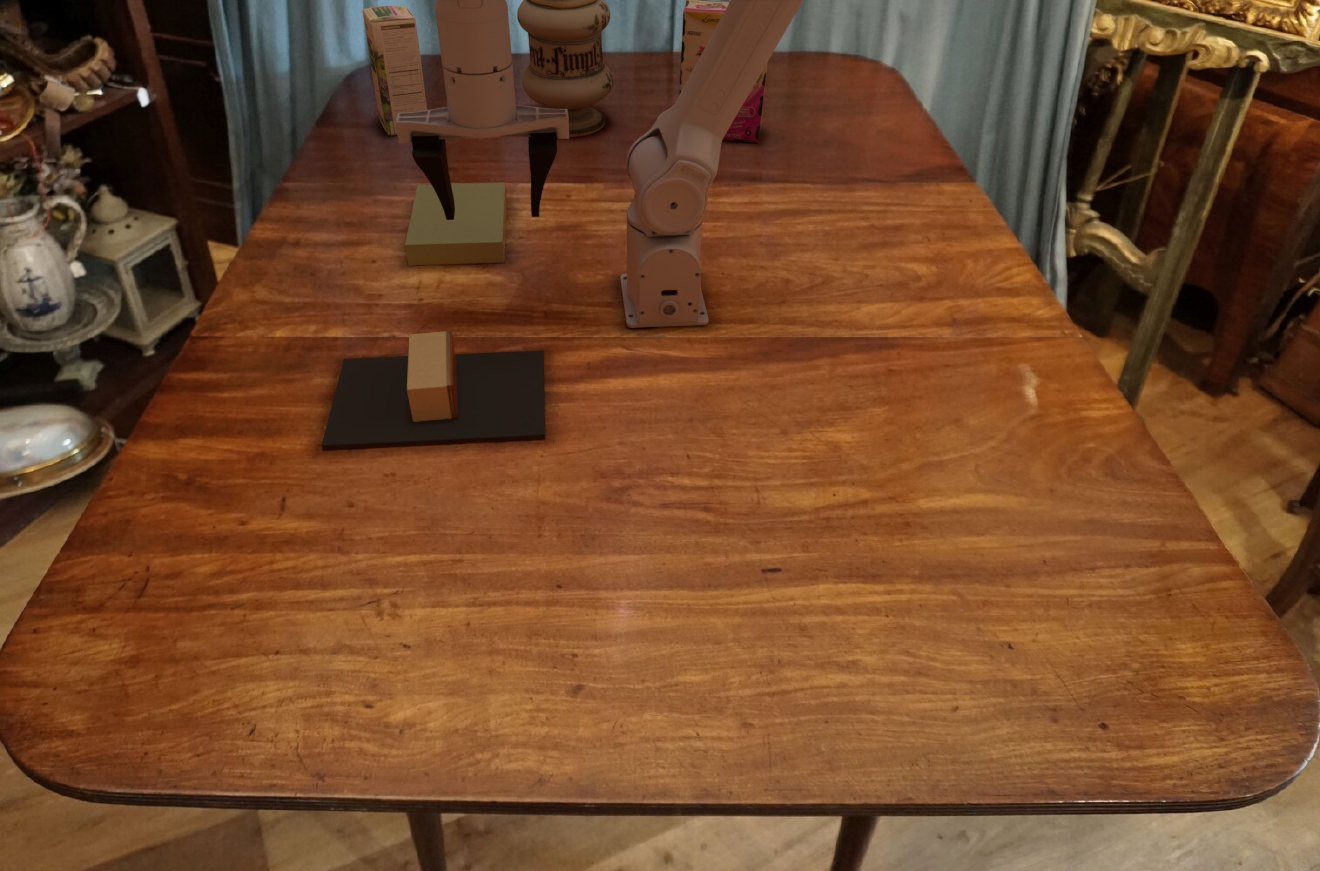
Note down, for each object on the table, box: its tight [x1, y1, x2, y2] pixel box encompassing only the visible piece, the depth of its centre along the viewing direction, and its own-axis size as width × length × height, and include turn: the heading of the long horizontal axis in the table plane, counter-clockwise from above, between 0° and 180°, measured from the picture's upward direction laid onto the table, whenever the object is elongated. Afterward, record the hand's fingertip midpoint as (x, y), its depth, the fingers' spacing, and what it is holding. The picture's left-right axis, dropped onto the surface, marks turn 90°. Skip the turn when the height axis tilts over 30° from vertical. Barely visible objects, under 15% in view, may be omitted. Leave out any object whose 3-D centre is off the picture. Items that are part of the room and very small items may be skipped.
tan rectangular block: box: [407, 330, 458, 422], centre depth 80 cm, size 8×4×4 cm, turn 10°
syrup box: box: [362, 4, 428, 136], centre depth 121 cm, size 6×6×14 cm
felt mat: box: [321, 350, 546, 451], centre depth 81 cm, size 12×18×1 cm, turn 96°
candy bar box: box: [678, 0, 769, 143], centre depth 120 cm, size 11×5×16 cm, turn 84°
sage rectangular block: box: [404, 181, 508, 267], centre depth 103 cm, size 14×10×2 cm
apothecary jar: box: [516, 0, 614, 138], centre depth 122 cm, size 12×12×18 cm
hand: (493, 213), depth 86 cm, fingers open, 7 cm apart
